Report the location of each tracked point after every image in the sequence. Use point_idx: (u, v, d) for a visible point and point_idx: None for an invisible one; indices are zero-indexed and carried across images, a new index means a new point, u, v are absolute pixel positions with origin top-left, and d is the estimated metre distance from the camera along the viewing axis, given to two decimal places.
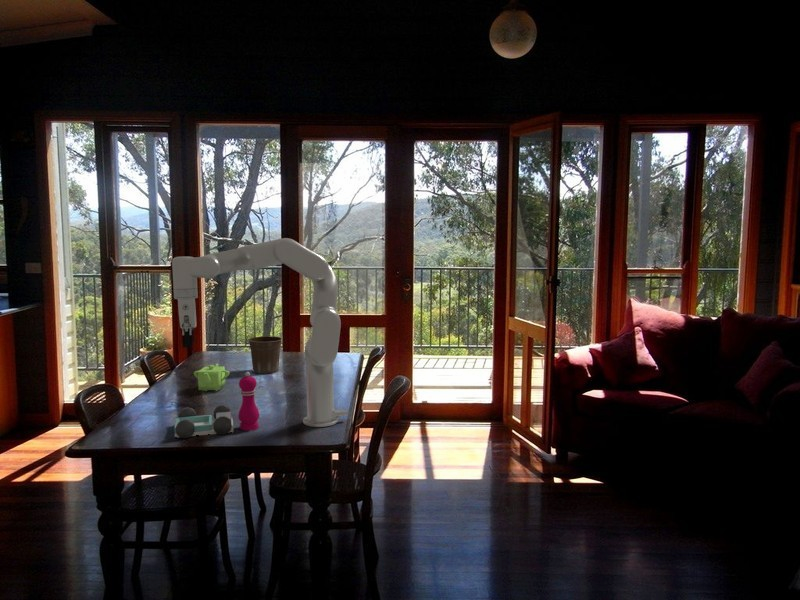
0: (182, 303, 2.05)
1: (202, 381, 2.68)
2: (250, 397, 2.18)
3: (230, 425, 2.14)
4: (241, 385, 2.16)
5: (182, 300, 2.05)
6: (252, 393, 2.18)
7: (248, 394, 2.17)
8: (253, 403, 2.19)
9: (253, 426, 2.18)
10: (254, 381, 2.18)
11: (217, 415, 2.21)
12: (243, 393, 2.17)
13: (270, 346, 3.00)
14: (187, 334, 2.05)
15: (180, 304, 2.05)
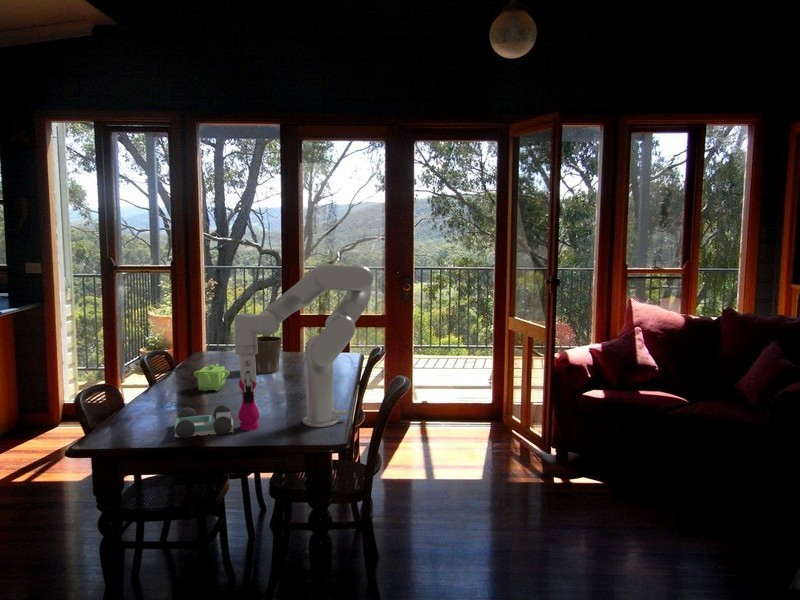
0: (244, 359, 2.13)
1: (202, 381, 2.68)
2: None
3: (230, 425, 2.14)
4: (241, 385, 2.16)
5: (244, 356, 2.13)
6: None
7: None
8: (253, 403, 2.19)
9: (253, 426, 2.18)
10: None
11: (217, 415, 2.21)
12: (243, 393, 2.17)
13: (270, 346, 3.00)
14: (249, 391, 2.15)
15: (242, 360, 2.13)
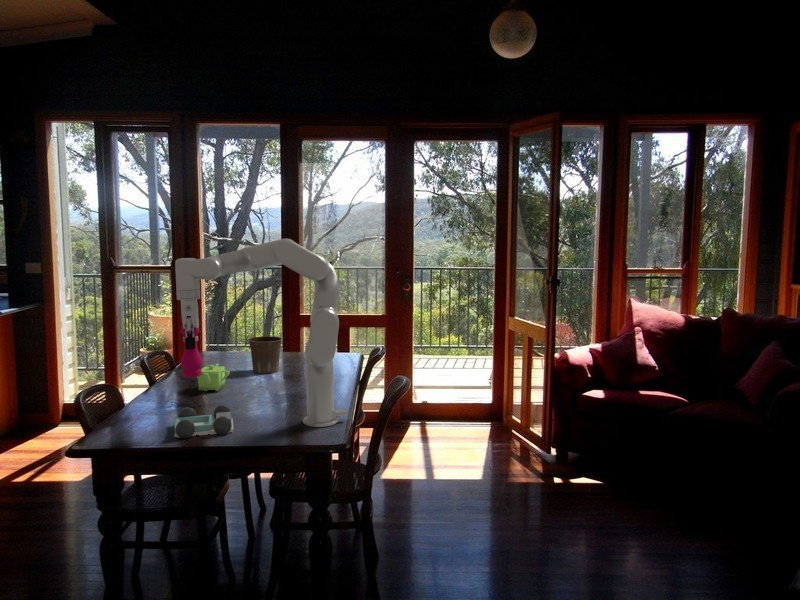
0: (185, 304, 2.09)
1: (202, 381, 2.68)
2: None
3: (230, 425, 2.14)
4: (183, 330, 2.12)
5: (185, 301, 2.09)
6: None
7: None
8: (195, 350, 2.14)
9: (195, 373, 2.14)
10: None
11: (217, 415, 2.21)
12: None
13: (270, 346, 3.00)
14: (190, 337, 2.11)
15: (183, 305, 2.09)
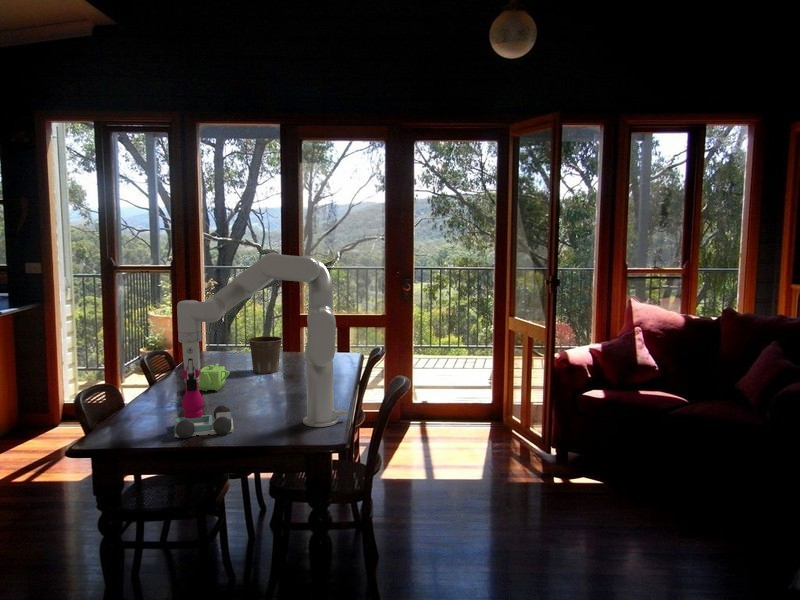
0: (186, 346, 2.11)
1: (202, 381, 2.68)
2: None
3: (230, 425, 2.14)
4: (184, 372, 2.14)
5: (186, 344, 2.11)
6: None
7: None
8: (197, 391, 2.16)
9: (196, 414, 2.16)
10: (197, 369, 2.15)
11: (217, 415, 2.21)
12: (186, 381, 2.14)
13: (270, 346, 3.00)
14: (191, 379, 2.13)
15: (184, 347, 2.11)
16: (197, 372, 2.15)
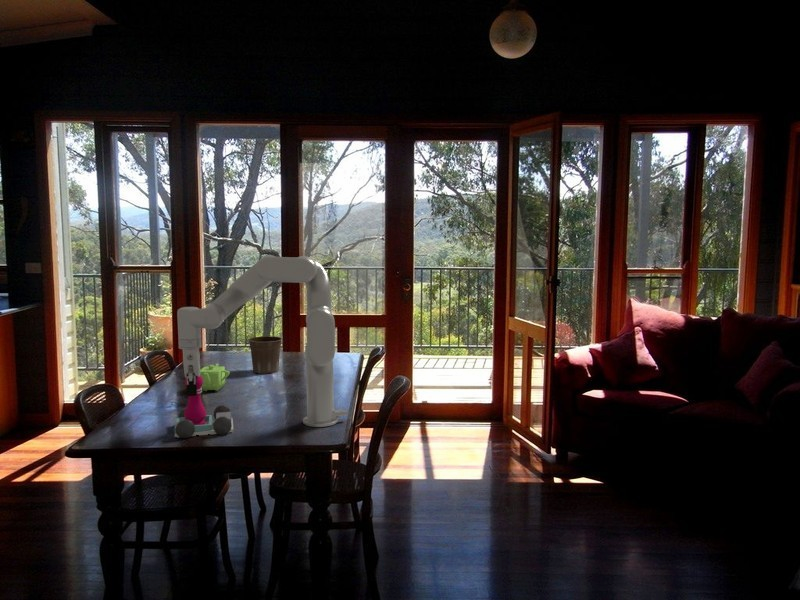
0: (187, 353, 2.11)
1: None
2: (196, 396, 2.16)
3: (230, 425, 2.14)
4: (186, 383, 2.14)
5: (187, 350, 2.11)
6: (198, 392, 2.15)
7: None
8: (199, 402, 2.16)
9: None
10: (200, 380, 2.15)
11: (217, 415, 2.21)
12: None
13: (270, 346, 3.00)
14: (191, 383, 2.11)
15: (185, 354, 2.11)
16: (199, 383, 2.15)
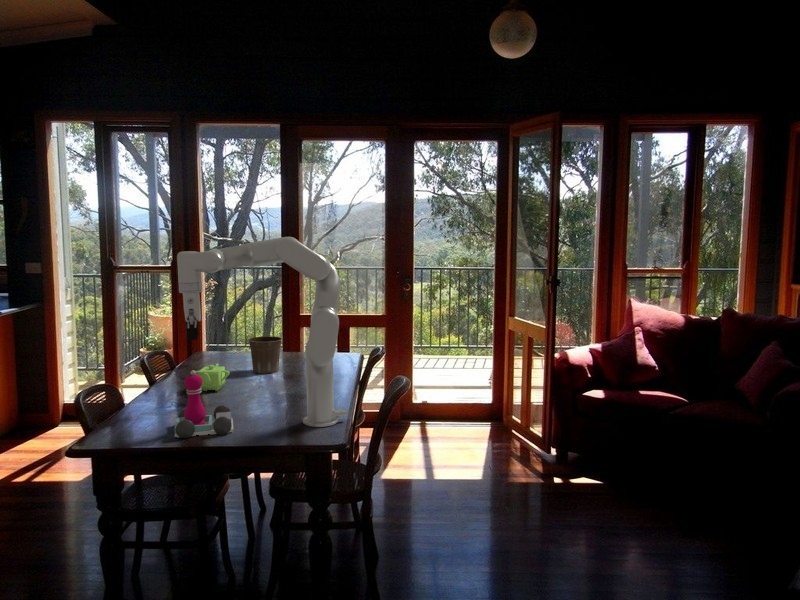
0: (187, 297, 2.10)
1: None
2: (196, 396, 2.16)
3: (230, 425, 2.14)
4: (186, 383, 2.14)
5: (187, 294, 2.10)
6: (197, 392, 2.15)
7: (193, 392, 2.15)
8: (199, 402, 2.16)
9: None
10: (199, 380, 2.15)
11: (217, 415, 2.21)
12: (188, 392, 2.15)
13: (270, 346, 3.00)
14: (192, 327, 2.09)
15: (185, 298, 2.10)
16: (199, 383, 2.15)
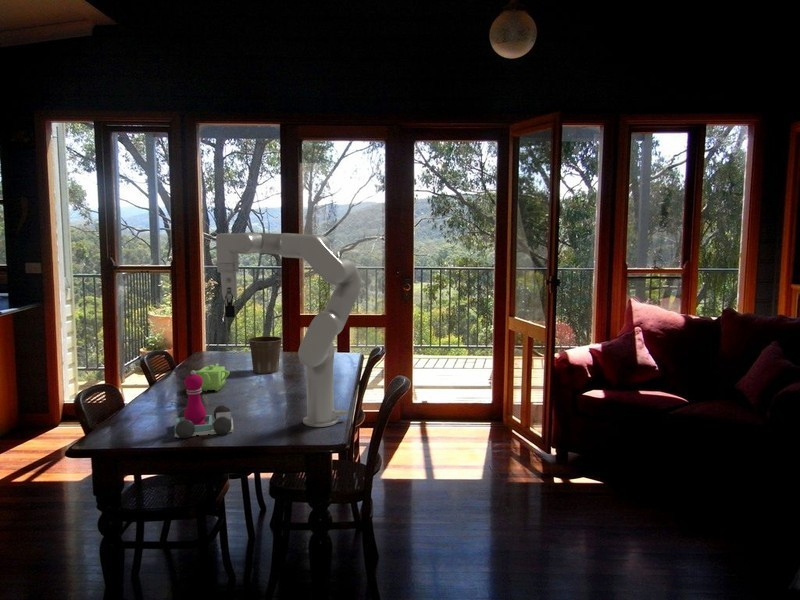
0: (225, 276, 2.21)
1: None
2: (196, 396, 2.16)
3: (230, 425, 2.14)
4: (186, 383, 2.14)
5: (225, 273, 2.21)
6: (197, 392, 2.15)
7: (193, 392, 2.15)
8: (199, 402, 2.16)
9: None
10: (199, 380, 2.15)
11: (217, 415, 2.21)
12: (188, 392, 2.15)
13: (270, 346, 3.00)
14: (230, 305, 2.21)
15: (223, 277, 2.21)
16: (199, 383, 2.15)
